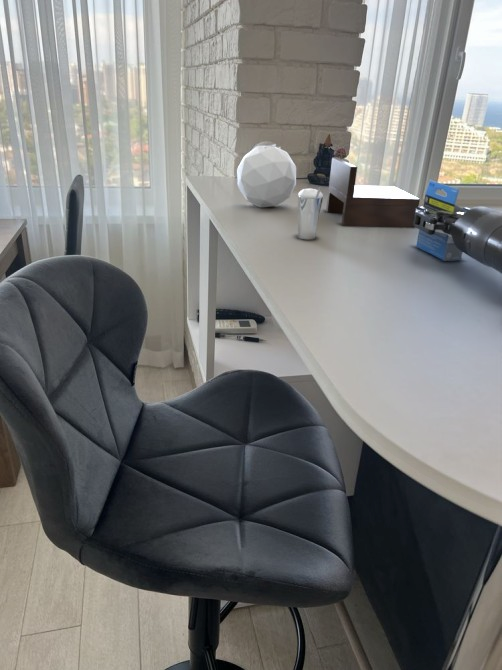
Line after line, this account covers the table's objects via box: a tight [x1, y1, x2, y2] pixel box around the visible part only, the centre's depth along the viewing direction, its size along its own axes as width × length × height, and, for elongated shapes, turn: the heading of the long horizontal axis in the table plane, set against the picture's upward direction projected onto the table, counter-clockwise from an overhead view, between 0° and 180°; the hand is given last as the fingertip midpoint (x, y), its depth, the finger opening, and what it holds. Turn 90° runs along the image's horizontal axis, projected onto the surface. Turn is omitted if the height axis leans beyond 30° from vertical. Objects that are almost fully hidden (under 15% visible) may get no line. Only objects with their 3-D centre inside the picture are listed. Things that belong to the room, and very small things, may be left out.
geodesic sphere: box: [236, 143, 297, 208], centre depth 118 cm, size 15×14×14 cm
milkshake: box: [297, 186, 324, 241], centre depth 94 cm, size 4×5×10 cm
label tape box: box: [415, 179, 467, 262], centre depth 89 cm, size 9×4×12 cm, turn 16°
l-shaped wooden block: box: [325, 157, 421, 228], centre depth 111 cm, size 16×14×12 cm
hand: (440, 212), depth 90 cm, fingers open, 8 cm apart
